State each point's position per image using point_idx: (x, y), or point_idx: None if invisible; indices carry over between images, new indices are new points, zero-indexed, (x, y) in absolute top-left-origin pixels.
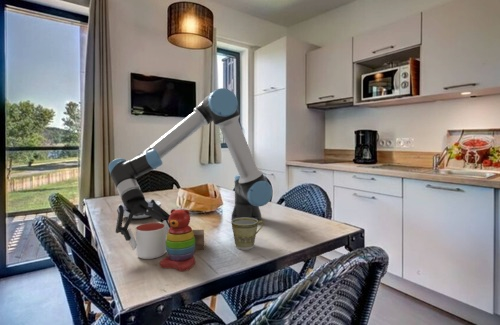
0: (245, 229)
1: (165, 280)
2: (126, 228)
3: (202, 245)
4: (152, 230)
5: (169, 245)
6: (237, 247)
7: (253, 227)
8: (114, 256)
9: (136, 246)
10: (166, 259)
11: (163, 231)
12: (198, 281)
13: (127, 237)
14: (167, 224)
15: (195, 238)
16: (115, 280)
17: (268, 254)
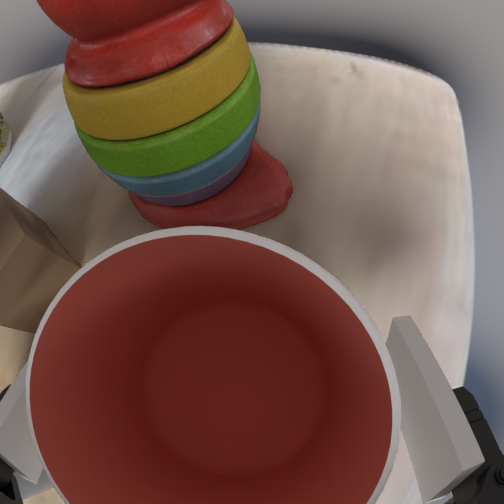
0: None
1: (328, 98)
2: (498, 467)
3: (33, 215)
4: (134, 501)
5: (257, 73)
6: (5, 153)
7: None
8: (395, 498)
9: (390, 334)
10: (259, 167)
11: (127, 260)
12: (252, 50)
13: (469, 396)
14: (3, 399)
15: (21, 217)
16: (472, 220)
17: (28, 89)
